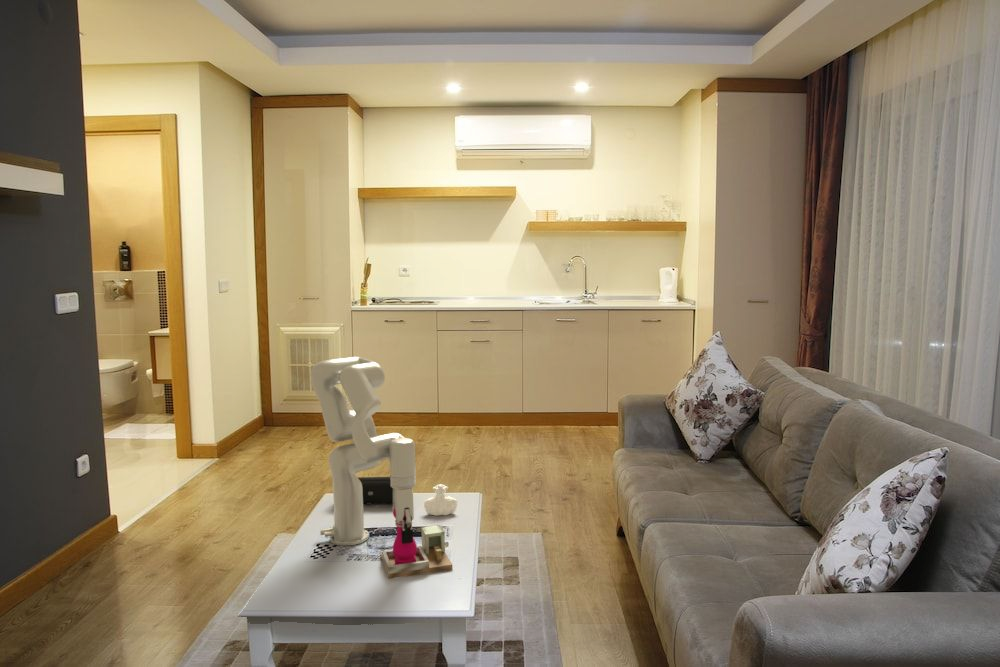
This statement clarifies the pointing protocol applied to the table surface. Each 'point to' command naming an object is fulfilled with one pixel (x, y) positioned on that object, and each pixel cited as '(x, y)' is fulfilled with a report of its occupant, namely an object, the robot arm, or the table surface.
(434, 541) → the block
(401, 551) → the pepper mill
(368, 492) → the portable speaker
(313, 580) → the table surface
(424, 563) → the stand
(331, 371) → the robot arm
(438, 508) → the bust
